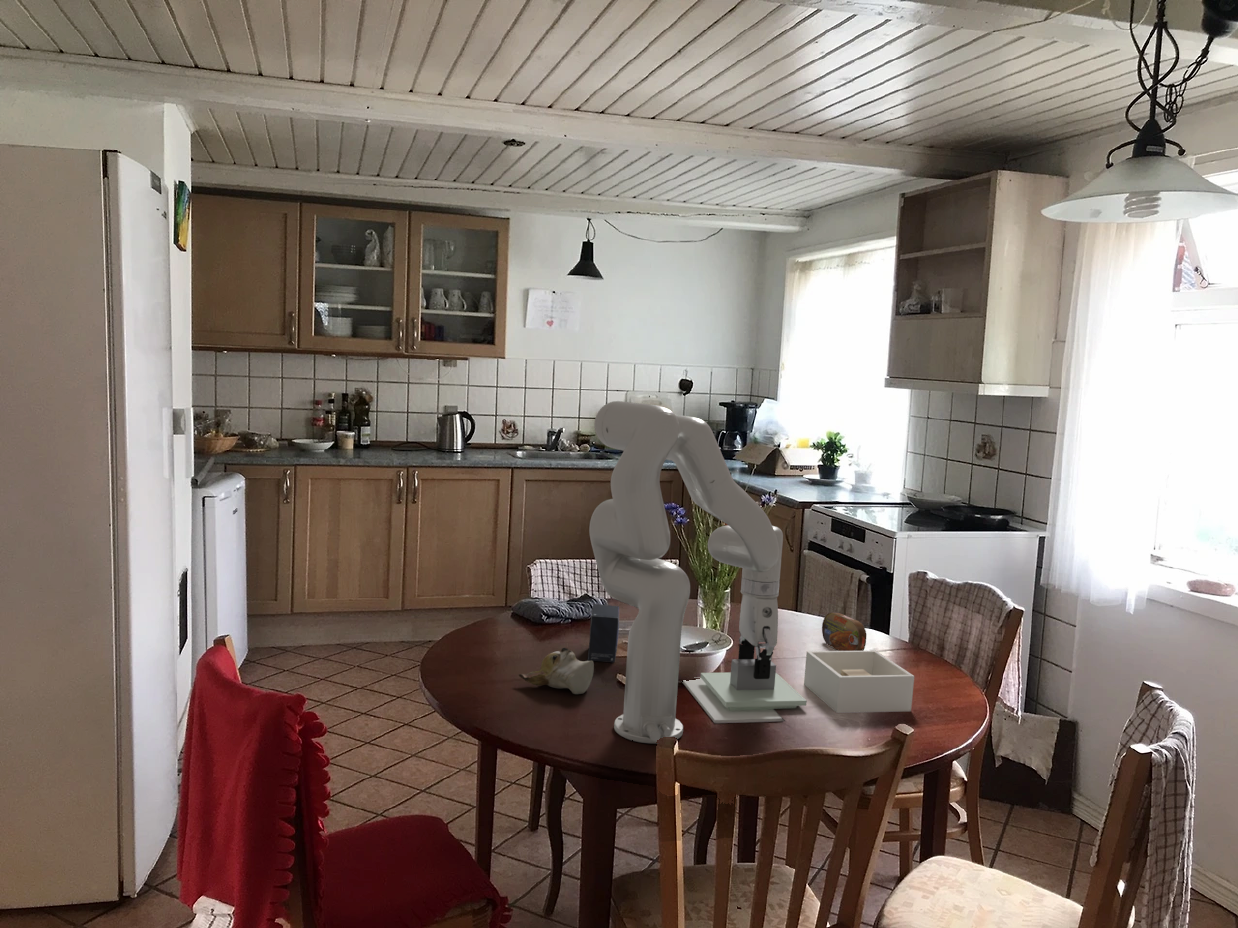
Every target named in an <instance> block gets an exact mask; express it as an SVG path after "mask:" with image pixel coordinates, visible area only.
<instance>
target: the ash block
mask: <svg viewBox="0 0 1238 928" xmlns="http://www.w3.org/2000/svg"><path fill="white" fill-rule="evenodd" d="M867 675H870V674H869V673H868V672H866V671H865V670H864V669H857V670H841V676H867Z"/></svg>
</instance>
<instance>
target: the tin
mask: <svg viewBox="0 0 1238 928" xmlns="http://www.w3.org/2000/svg"><path fill="white" fill-rule="evenodd" d="M821 624H822V625H821V634H822V637H823V640H824V642H825V643H826V645H827V646H829V647H831V648H833V649H834V650H835V651H865V648H866V644H867V643H866V642H867V631H866V628H865V626H864V624H863V623H862V622H861V621H859V620H857V619H855V618H853V617H849V616H848V615H845V614H842V613H840V612H832V611H831V612H828V613H827V614H826V615H825V616H824V618H823V620H822V623H821Z"/></svg>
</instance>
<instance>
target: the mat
mask: <svg viewBox="0 0 1238 928" xmlns="http://www.w3.org/2000/svg"><path fill="white" fill-rule="evenodd" d="M699 678H700V677H699ZM682 684H683V685H684V687H685V688H686V689H687V690H688V691H689V693H690V694H691V695H692V696H693V698H694V699H695V700H696V702H698V704H699V705H700V706H701V708H702V709H703V710H704V712H705V714H707V715H708V717H709V718H710V719H711V720H712V722H713V724H728V723H729V724H734V723H735V724H737V723H741V724H742V723H769V722H770V723H771V722H772V723H773V722H786V720H785V719H784V717H782V715H780V714H779V713H778V712H777V711H776V709H770V710H729V709H728V708H727V707H725V706H724V705H723V704H722V702H721V701H720V700H719V699H718V698H717V696H716V695H715V694H714V693H713V692H712V691H711V689H710V688H709V687H708V686H707V685H706V683H705V682H704V681H703V680H702V679H701V678H700V679H696V680H689V681H686V680H683V682H682Z"/></svg>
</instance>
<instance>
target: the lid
mask: <svg viewBox="0 0 1238 928" xmlns="http://www.w3.org/2000/svg"><path fill="white" fill-rule="evenodd" d="M755 659H756V658H754V659H735V658H734V659H731V668H730V671H729V672H700V677H699V678H701V679H702V680H703V681H704V682H705V683H706V685H707V686H708V687H709V688H710V689H711V691H712V692H713V693H714V694H715V695H716V696H717V698H718V699H719V700H720V701H721V702H722V704H723V705H724V706H725V707H727V708H728V709H729V710H770V709H774V710H776V709H778V710H779V709H780V710H781V709H797V707H799V706H800V707H801V706H803V707H804V706H807V703H808V701H807V699H806V698H805V697H803V696H802V695H801V694H800V693H799V692H798V691H797V690H796V689H795V688H793V686H791V685H790V683H788V682H787V681H786V680H785V679H784V678H783V677H782V676H781V675H779V674H778V673H777V672H776V671H777V664H776V663H774V662H773V661H772V660H771V667H770V678H769V679H755V678H754V677H753V676H754V664H755Z"/></svg>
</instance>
